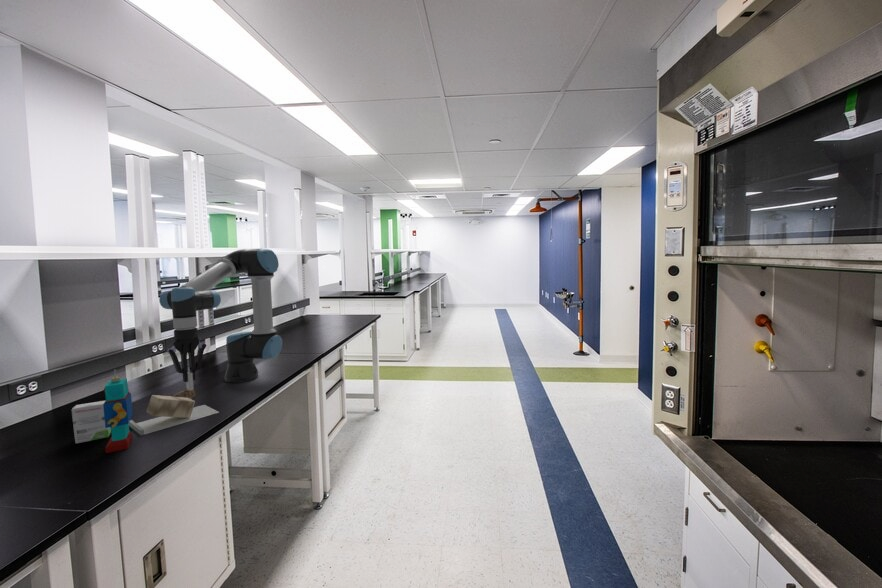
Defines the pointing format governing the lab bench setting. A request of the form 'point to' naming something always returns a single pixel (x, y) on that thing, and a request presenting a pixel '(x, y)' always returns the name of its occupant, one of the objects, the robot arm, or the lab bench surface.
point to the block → (170, 406)
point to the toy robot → (118, 413)
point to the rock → (185, 394)
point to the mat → (169, 420)
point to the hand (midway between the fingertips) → (190, 389)
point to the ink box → (89, 422)
